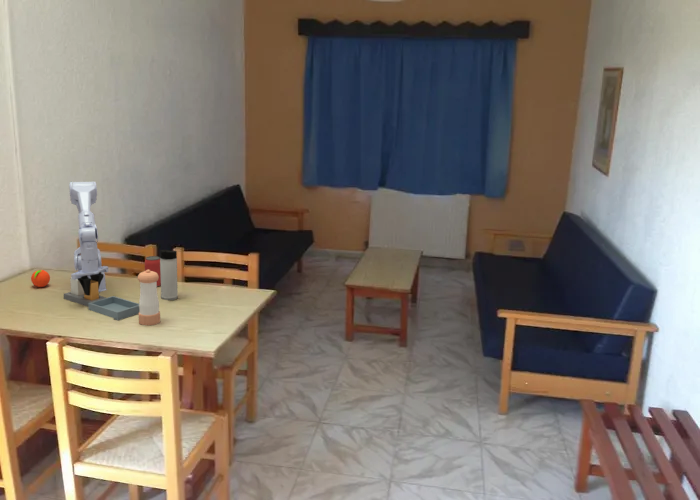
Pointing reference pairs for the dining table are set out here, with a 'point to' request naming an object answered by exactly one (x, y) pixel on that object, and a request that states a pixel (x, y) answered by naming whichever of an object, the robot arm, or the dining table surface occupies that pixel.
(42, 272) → the clementine
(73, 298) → the block
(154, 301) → the pepper shaker
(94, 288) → the orange rectangular block
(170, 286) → the travel mug
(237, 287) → the dining table surface
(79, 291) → the fuse
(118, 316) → the parts tray
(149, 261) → the beer can
